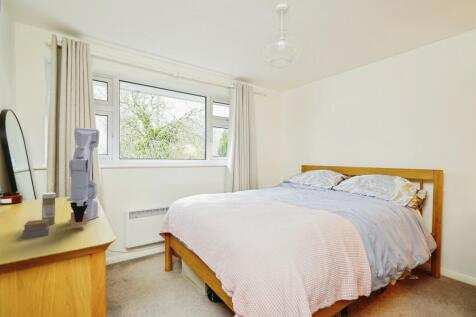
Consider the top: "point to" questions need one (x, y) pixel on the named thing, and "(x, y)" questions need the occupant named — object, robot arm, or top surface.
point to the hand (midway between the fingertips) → (78, 220)
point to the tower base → (36, 233)
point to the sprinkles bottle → (48, 207)
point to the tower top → (36, 225)
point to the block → (78, 222)
